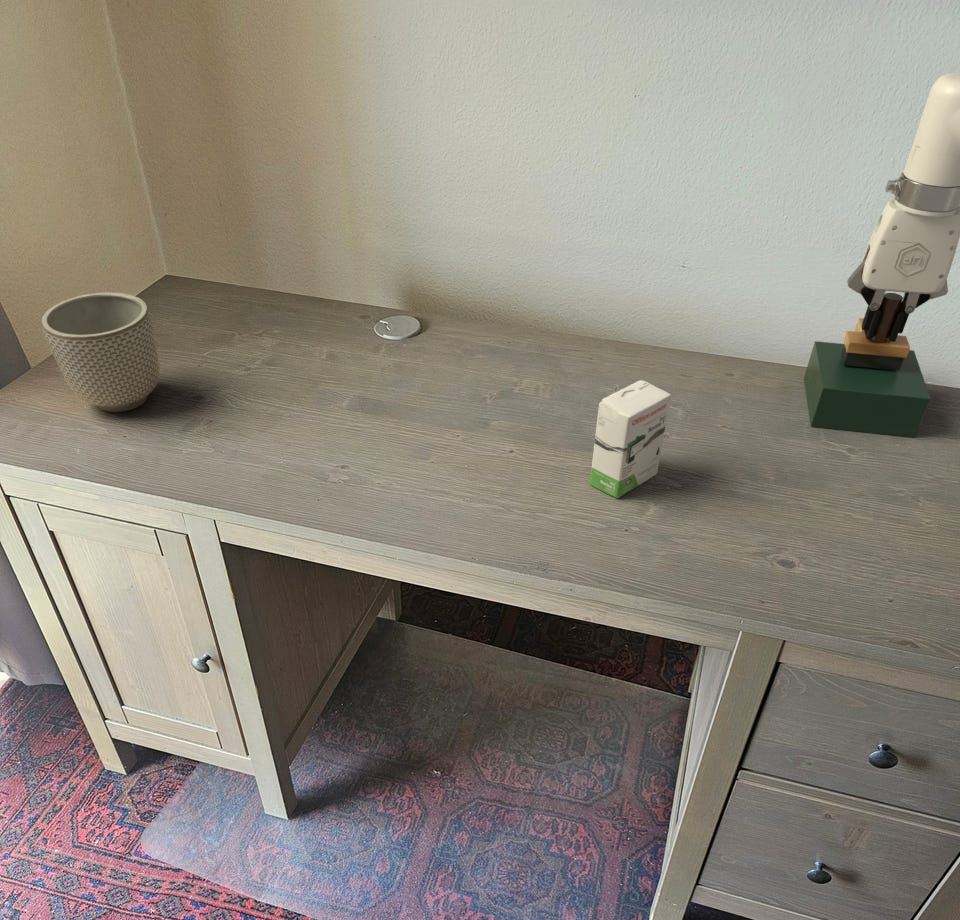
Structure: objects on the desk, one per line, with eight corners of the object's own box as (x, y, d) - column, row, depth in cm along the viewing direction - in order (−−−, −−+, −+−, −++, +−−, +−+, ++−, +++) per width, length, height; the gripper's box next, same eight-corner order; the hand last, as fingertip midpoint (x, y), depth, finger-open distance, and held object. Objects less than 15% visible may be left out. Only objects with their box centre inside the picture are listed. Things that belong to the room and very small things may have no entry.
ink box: (616, 500, 109) (629, 417, 100) (587, 483, 111) (596, 401, 103) (659, 473, 113) (674, 392, 104) (629, 458, 115) (642, 377, 107)
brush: (897, 359, 122) (922, 293, 116) (901, 371, 120) (927, 304, 113) (839, 354, 123) (860, 288, 116) (841, 365, 121) (863, 299, 114)
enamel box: (901, 388, 129) (916, 350, 125) (916, 438, 119) (933, 399, 115) (803, 378, 131) (814, 340, 127) (810, 426, 121) (822, 388, 117)
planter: (128, 367, 132) (103, 283, 122) (191, 394, 126) (170, 308, 117) (51, 406, 124) (17, 318, 114) (115, 436, 118) (85, 347, 109)
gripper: (865, 199, 104) (821, 343, 117) (1006, 209, 102) (945, 354, 115) (858, 178, 109) (816, 319, 122) (992, 187, 107) (935, 329, 120)
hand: (879, 335), depth 119 cm, fingers closed on brush, 2 cm apart
